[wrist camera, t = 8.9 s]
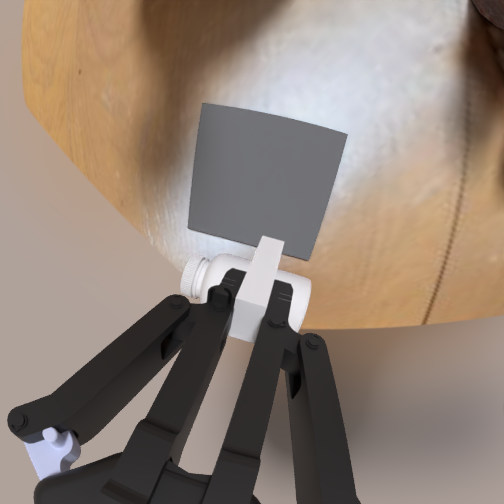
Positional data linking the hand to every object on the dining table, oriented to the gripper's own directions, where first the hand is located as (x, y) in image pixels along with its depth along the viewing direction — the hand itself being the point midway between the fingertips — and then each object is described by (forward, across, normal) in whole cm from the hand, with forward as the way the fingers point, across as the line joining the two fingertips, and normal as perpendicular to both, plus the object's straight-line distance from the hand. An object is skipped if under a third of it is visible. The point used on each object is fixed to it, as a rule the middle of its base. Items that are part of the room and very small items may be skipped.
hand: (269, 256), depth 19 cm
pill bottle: (+11, -6, +13) cm, 18 cm away
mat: (+14, +4, 0) cm, 15 cm away
